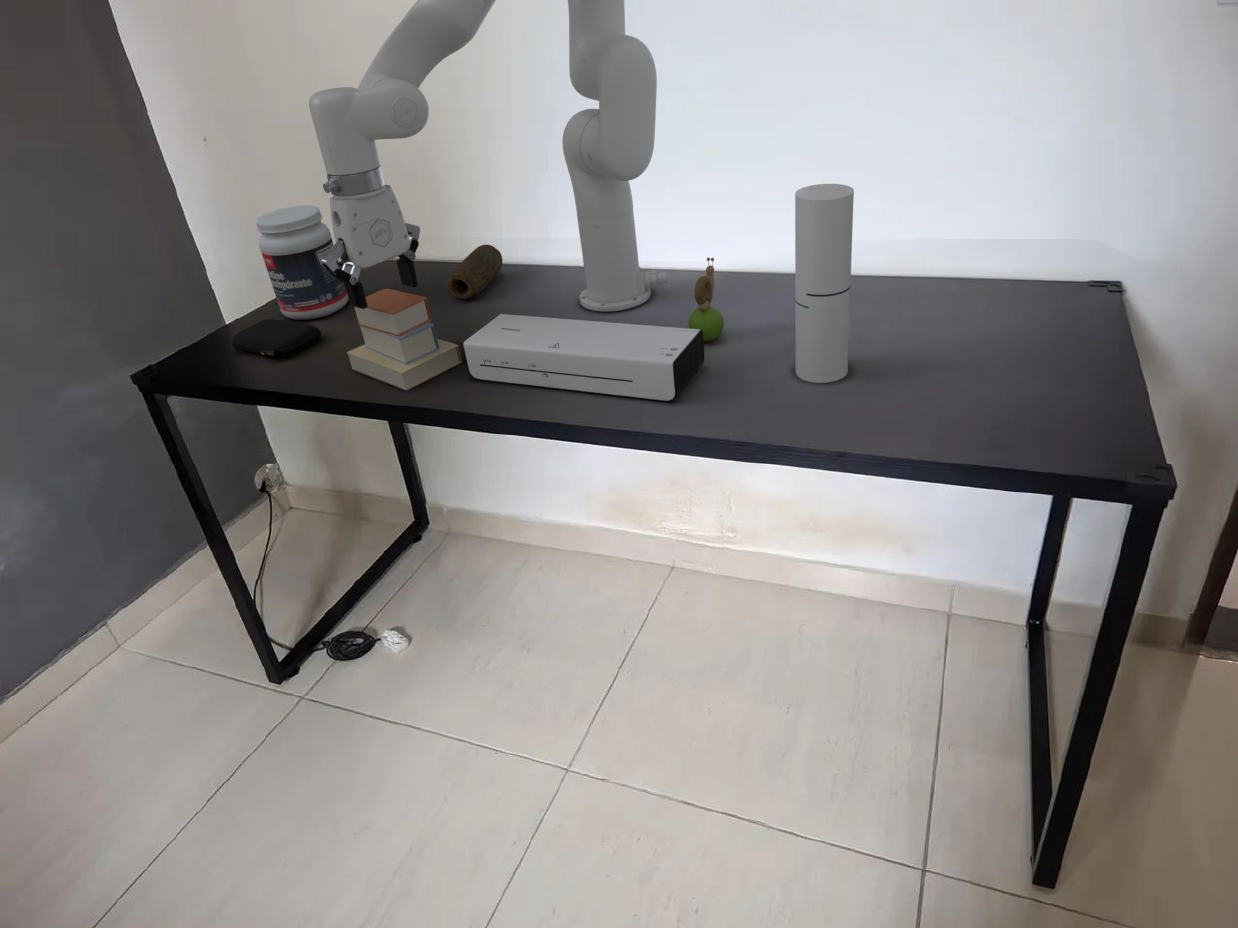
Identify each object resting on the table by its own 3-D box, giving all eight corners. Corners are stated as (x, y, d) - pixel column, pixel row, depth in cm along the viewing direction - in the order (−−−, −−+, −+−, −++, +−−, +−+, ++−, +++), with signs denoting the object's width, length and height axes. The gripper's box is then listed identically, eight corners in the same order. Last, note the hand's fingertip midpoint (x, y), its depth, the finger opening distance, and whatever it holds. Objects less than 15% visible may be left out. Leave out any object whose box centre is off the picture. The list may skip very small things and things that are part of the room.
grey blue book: (439, 350, 136) (433, 323, 133) (406, 365, 132) (399, 338, 130) (397, 333, 143) (391, 308, 141) (365, 347, 140) (358, 322, 137)
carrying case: (224, 354, 152) (282, 365, 145) (218, 338, 150) (276, 348, 143) (271, 330, 159) (328, 339, 153) (266, 314, 158) (323, 323, 151)
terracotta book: (432, 320, 134) (426, 297, 132) (399, 336, 130) (392, 313, 128) (391, 310, 140) (385, 288, 138) (358, 325, 136) (352, 302, 134)
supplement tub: (270, 324, 162) (236, 227, 152) (302, 298, 173) (273, 206, 163) (332, 322, 160) (302, 223, 150) (362, 295, 170) (335, 201, 160)
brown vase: (474, 275, 173) (467, 242, 170) (507, 273, 171) (501, 240, 168) (447, 304, 161) (439, 269, 157) (482, 303, 159) (475, 268, 156)
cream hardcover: (462, 362, 138) (458, 345, 136) (406, 390, 131) (402, 372, 130) (406, 343, 147) (402, 327, 145) (351, 369, 140) (346, 352, 139)
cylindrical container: (837, 386, 118) (842, 201, 104) (787, 378, 121) (786, 198, 108) (854, 364, 122) (861, 185, 109) (806, 356, 126) (807, 182, 113)
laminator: (469, 379, 132) (461, 342, 129) (510, 345, 141) (503, 310, 138) (677, 403, 118) (673, 362, 115) (707, 364, 127) (705, 325, 124)
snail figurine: (731, 331, 136) (728, 257, 130) (717, 348, 132) (713, 273, 125) (698, 329, 139) (694, 256, 132) (684, 345, 134) (678, 271, 128)
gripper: (321, 201, 116) (354, 320, 125) (420, 169, 127) (444, 281, 136) (290, 196, 120) (324, 312, 129) (388, 166, 131) (413, 274, 140)
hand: (385, 296), depth 133 cm, fingers open, 9 cm apart
